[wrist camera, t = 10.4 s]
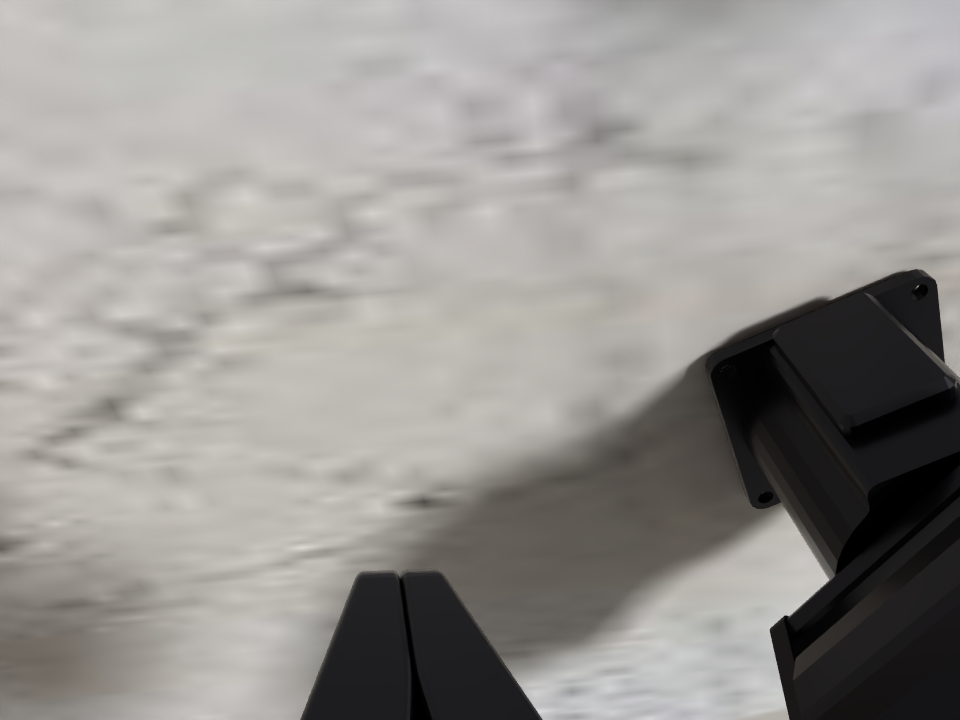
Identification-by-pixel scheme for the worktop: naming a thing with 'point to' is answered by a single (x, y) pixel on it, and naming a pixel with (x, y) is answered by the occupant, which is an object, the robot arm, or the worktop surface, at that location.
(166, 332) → the worktop surface
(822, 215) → the worktop surface
